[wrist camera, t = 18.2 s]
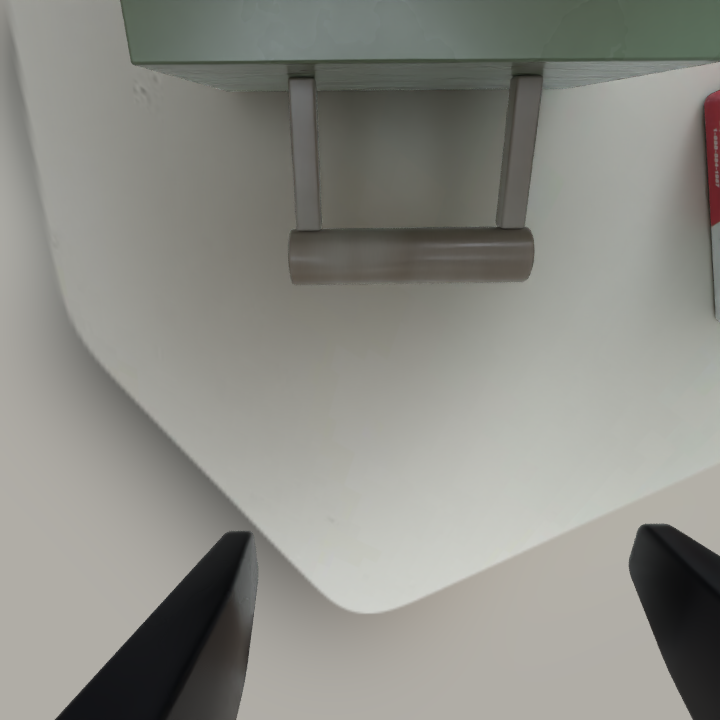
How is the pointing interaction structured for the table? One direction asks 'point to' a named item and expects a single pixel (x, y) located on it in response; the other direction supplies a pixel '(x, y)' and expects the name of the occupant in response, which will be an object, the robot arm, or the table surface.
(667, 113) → the table surface
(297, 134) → the green drawer
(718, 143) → the ink box
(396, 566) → the table surface
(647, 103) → the table surface
